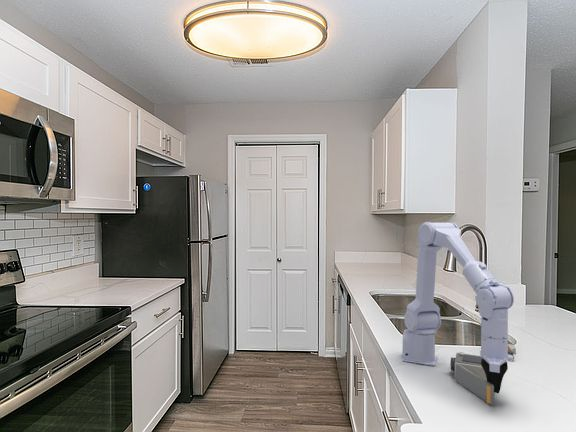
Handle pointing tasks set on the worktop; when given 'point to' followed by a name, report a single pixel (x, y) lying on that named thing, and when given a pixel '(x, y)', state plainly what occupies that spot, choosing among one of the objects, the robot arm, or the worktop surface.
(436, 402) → the worktop surface
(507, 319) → the robot arm
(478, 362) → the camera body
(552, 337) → the worktop surface
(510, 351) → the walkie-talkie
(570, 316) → the worktop surface
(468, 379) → the side door
